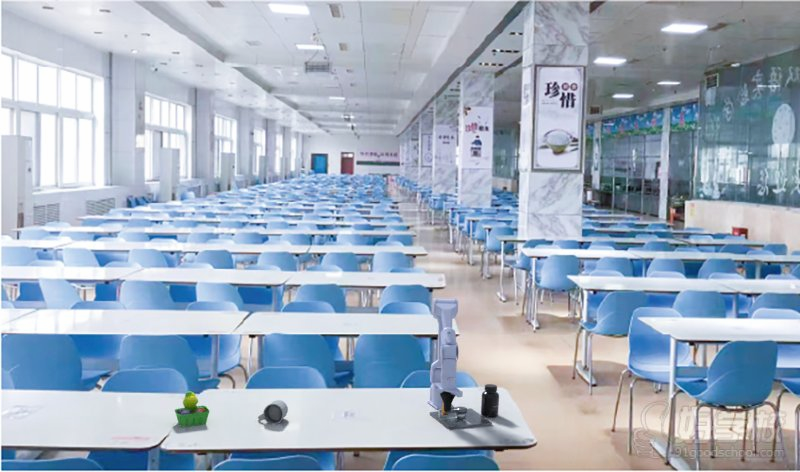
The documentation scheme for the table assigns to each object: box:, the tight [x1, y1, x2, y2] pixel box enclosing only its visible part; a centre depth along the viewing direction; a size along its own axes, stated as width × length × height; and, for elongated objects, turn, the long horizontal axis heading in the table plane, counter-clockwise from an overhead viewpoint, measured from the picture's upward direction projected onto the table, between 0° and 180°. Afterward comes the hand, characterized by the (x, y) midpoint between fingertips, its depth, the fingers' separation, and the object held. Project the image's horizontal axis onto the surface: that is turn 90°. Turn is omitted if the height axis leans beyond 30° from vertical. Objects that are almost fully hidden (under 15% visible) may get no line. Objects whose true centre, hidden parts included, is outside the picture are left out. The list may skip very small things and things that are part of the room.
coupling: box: [442, 403, 468, 415], centre depth 298 cm, size 11×5×4 cm, turn 116°
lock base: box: [429, 408, 493, 430], centre depth 299 cm, size 18×18×4 cm
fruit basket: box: [174, 391, 211, 428], centre depth 285 cm, size 11×9×11 cm
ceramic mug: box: [257, 399, 289, 425], centre depth 291 cm, size 11×8×8 cm
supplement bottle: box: [480, 383, 500, 419], centre depth 305 cm, size 7×7×12 cm
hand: (447, 411), depth 294 cm, fingers closed, pressing on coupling
